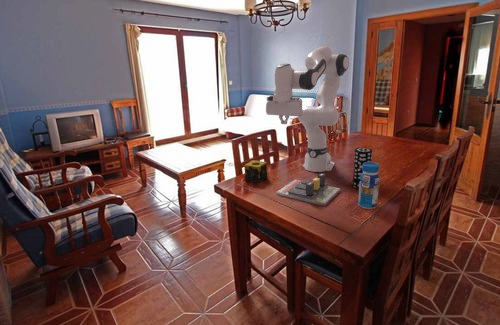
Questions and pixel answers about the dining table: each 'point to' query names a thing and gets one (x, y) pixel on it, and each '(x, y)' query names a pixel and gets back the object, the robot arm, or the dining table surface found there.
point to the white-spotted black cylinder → (360, 163)
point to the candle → (256, 171)
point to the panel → (318, 197)
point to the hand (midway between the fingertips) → (284, 124)
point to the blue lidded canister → (369, 185)
